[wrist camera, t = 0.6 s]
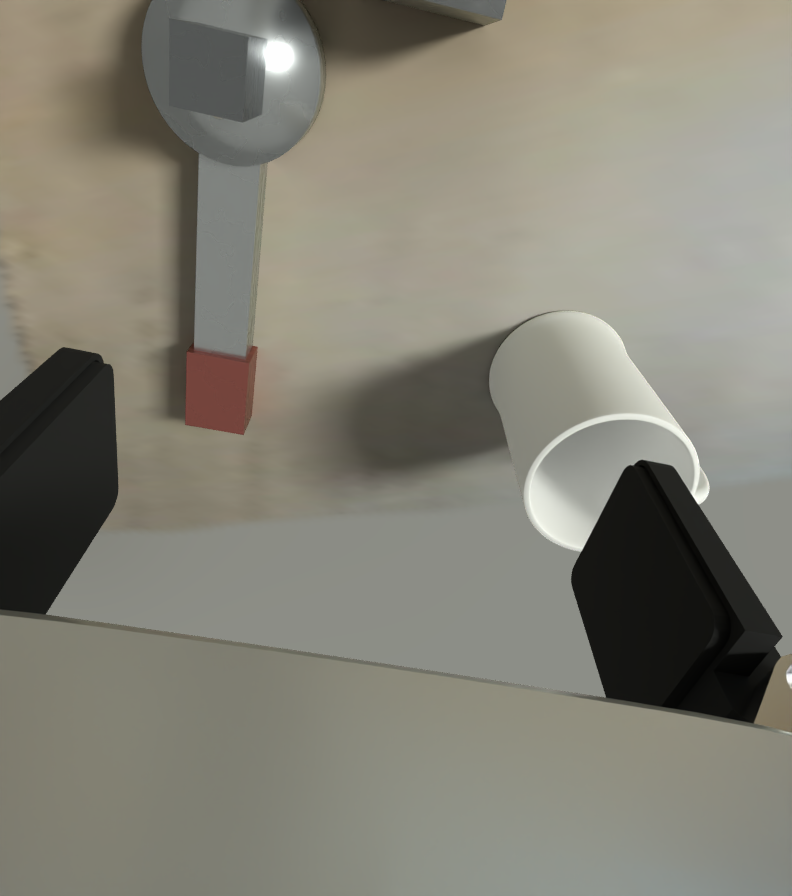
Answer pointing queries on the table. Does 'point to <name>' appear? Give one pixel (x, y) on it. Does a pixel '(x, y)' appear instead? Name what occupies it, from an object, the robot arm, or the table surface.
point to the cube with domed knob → (461, 9)
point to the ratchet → (231, 164)
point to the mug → (580, 422)
